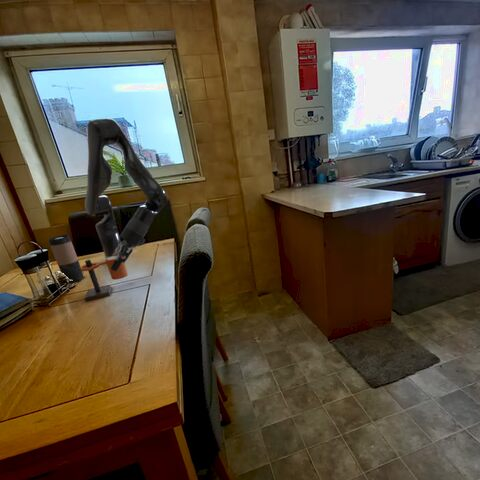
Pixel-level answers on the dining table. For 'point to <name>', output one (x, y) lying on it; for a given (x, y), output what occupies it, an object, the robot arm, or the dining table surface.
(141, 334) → the dining table surface
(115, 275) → the measuring cup
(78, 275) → the travel mug
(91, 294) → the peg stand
